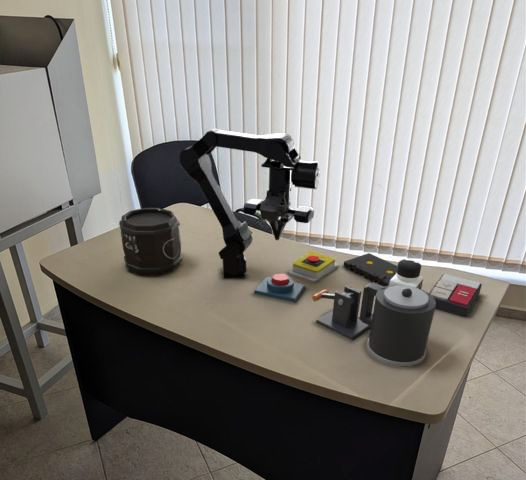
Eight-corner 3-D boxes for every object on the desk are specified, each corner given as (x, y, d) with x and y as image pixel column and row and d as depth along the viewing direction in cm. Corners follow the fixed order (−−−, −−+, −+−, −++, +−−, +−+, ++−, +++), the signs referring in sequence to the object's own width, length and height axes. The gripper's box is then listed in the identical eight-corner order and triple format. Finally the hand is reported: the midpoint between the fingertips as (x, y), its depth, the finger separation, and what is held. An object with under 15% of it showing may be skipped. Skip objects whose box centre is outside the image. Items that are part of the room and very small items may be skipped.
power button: (270, 284, 137) (270, 278, 137) (275, 277, 141) (275, 272, 140) (284, 287, 136) (285, 281, 135) (290, 280, 140) (290, 275, 139)
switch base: (315, 323, 126) (319, 290, 121) (337, 311, 132) (340, 278, 127) (351, 341, 120) (356, 306, 115) (372, 327, 125) (377, 293, 120)
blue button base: (254, 294, 138) (254, 283, 137) (266, 281, 146) (266, 270, 144) (294, 303, 135) (295, 292, 133) (304, 289, 142) (305, 278, 140)
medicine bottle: (411, 310, 133) (419, 270, 126) (385, 303, 136) (392, 263, 130) (419, 299, 138) (427, 260, 132) (394, 292, 141) (401, 254, 135)
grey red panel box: (427, 293, 133) (443, 271, 144) (424, 307, 136) (440, 284, 146) (469, 305, 128) (483, 281, 139) (465, 319, 131) (479, 294, 141)
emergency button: (288, 261, 148) (314, 245, 158) (288, 274, 150) (313, 257, 160) (315, 269, 143) (340, 252, 153) (314, 283, 145) (338, 265, 156)
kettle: (343, 344, 119) (351, 283, 110) (375, 323, 127) (384, 264, 118) (406, 375, 109) (420, 310, 100) (435, 350, 117) (451, 288, 109)
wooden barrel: (186, 252, 162) (183, 206, 154) (179, 277, 147) (176, 227, 138) (130, 252, 161) (124, 205, 153) (118, 277, 146) (111, 226, 138)
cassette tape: (343, 267, 155) (343, 260, 154) (368, 258, 161) (369, 252, 160) (387, 289, 143) (388, 282, 142) (412, 278, 149) (414, 272, 148)
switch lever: (312, 302, 127) (311, 293, 126) (324, 296, 130) (323, 287, 129) (346, 306, 119) (345, 297, 119) (358, 299, 122) (357, 290, 122)
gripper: (234, 188, 128) (235, 244, 136) (303, 198, 122) (299, 256, 130) (251, 177, 136) (251, 230, 145) (316, 186, 131) (312, 241, 139)
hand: (277, 239), depth 139 cm, fingers closed
